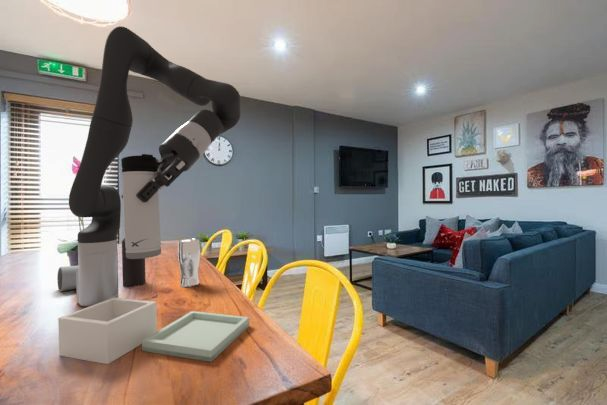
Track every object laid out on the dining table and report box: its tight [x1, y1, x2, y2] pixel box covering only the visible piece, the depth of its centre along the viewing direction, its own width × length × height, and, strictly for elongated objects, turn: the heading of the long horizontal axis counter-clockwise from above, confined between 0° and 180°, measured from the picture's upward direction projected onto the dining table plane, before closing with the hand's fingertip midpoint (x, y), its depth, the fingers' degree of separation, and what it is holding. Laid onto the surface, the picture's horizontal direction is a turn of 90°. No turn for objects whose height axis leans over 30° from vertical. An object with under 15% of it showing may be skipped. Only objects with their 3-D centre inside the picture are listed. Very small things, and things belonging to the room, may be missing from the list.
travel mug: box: [120, 153, 162, 259], centre depth 59 cm, size 6×7×20 cm
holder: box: [57, 297, 158, 365], centre depth 59 cm, size 12×12×7 cm
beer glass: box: [177, 238, 201, 288], centre depth 99 cm, size 7×7×15 cm
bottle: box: [121, 237, 147, 288], centre depth 100 cm, size 7×7×20 cm
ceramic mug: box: [56, 265, 78, 292], centre depth 98 cm, size 11×8×8 cm
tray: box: [141, 310, 250, 363], centre depth 61 cm, size 15×15×2 cm
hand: (132, 199), depth 58 cm, fingers closed on travel mug, 6 cm apart
